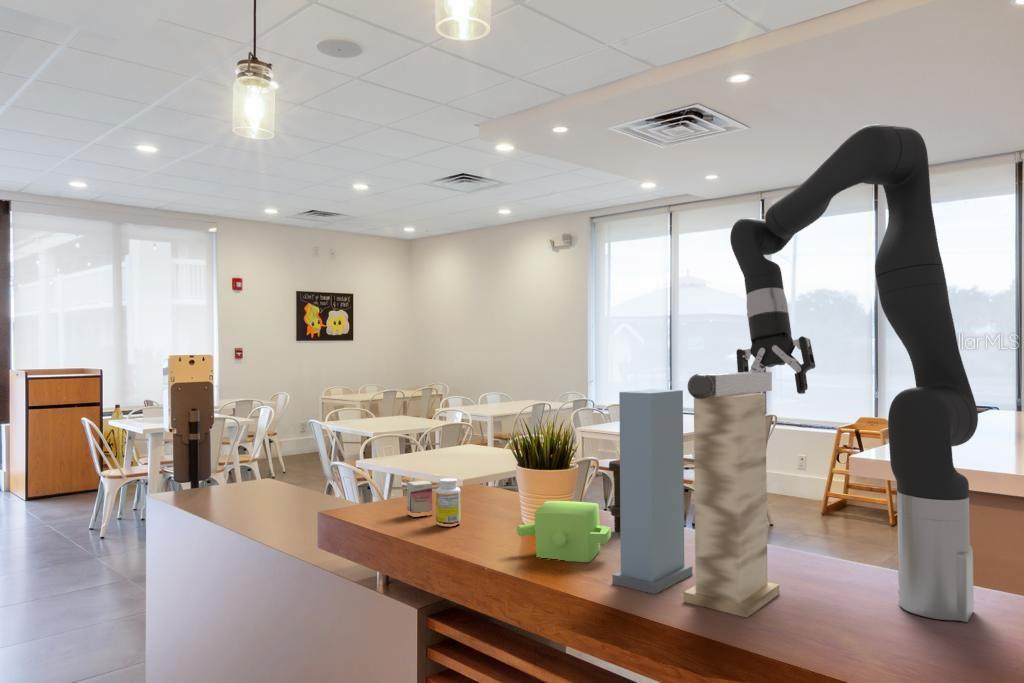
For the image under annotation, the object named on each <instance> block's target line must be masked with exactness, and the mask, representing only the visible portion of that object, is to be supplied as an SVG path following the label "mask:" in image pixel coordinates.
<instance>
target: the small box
mask: <svg viewBox="0 0 1024 683" xmlns="http://www.w3.org/2000/svg"><path fill="white" fill-rule="evenodd" d="M407 510H408V511H410V512H411V513H421V512H430V511H432V512H433V482H430V481H428V480H419V481H418V480H416V481H409V482H408V481H407V483H406V511H407Z"/></svg>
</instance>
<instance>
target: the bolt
mask: <svg viewBox="0 0 1024 683" xmlns="http://www.w3.org/2000/svg"><path fill="white" fill-rule="evenodd" d="M608 470H609V471H612V472H613V475H612V476H613V487H614V488H613V496H614V497H613V505H611V506H610V515H611V516H612V517H613V521H614V524H613V526H614V527H613V531H614V532H616V533H620V459H618V460H617V459H615V460H610V461H609V462H608Z"/></svg>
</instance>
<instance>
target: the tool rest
mask: <svg viewBox="0 0 1024 683" xmlns="http://www.w3.org/2000/svg"><path fill="white" fill-rule="evenodd" d="M766 397H767V396H766V392H761V393H747V394H739V395H730V396H721V397H708V398H706V399H696V398H694V397H693V442H694V444H693V445H694V446H693V447H694V449H693V450H694V452H693V454H694V455H693V457H694V464H693V465H694V466H693V467H694V468H693V471H694V531H695V532H694V544H695V545H694V549H695V550H694V551H695V552H694V554H695V555H694V557H695V558H694V559H695V561H694V563H695V566H694V567H695V568H694V569H695V573H694V574H695V577H694V579H695V585H693V586H692V587H690V588H688V589H686V590H685V591H684V592H683V602H684V603H688V604H691V605H696V606H700V607H704V608H707V609H711V610H715V611H720V612H723V613H728V614H731V615H735V616H739V617H743V618H748V617H750V616H752V615H753V614H754V613H756V612H757V611H758V610H760V608H762V607H764V606H765V605H766V604H768V603H769V602H771V601H772V600H774V599H775V598H776V597H777V596H779V595H780V584H779V583H774V582H770V581H768V580H769V579H768V573H769V572H768V510H767V509H768V506H767V505H768V502H767V501H768V500H767V499H768V498H767V494H768V492H767V491H768V490H767V489H768V488H767V486H768V485H767V415H766V414H767V412H766V411H767V408H766V406H767V405H766Z"/></svg>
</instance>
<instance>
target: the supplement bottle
mask: <svg viewBox="0 0 1024 683" xmlns="http://www.w3.org/2000/svg"><path fill="white" fill-rule="evenodd" d="M438 486H439V487H438V488H436V490H435V511H436V512H435V517H436V519H435V520H436V521H437V522H439V523H443V524H454V523H459V522H462V519H461V518H462V514H461V513H462V512H461V511H462V510H461V509H462V507H461V506H462V504H461V503H462V502H461V501H462V500H461V498H462V496H461V494H462V492H461V488H460V487H459V486H458V479H457V478H453V477H446V478H445V477H444V478H440V479H439V485H438Z"/></svg>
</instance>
